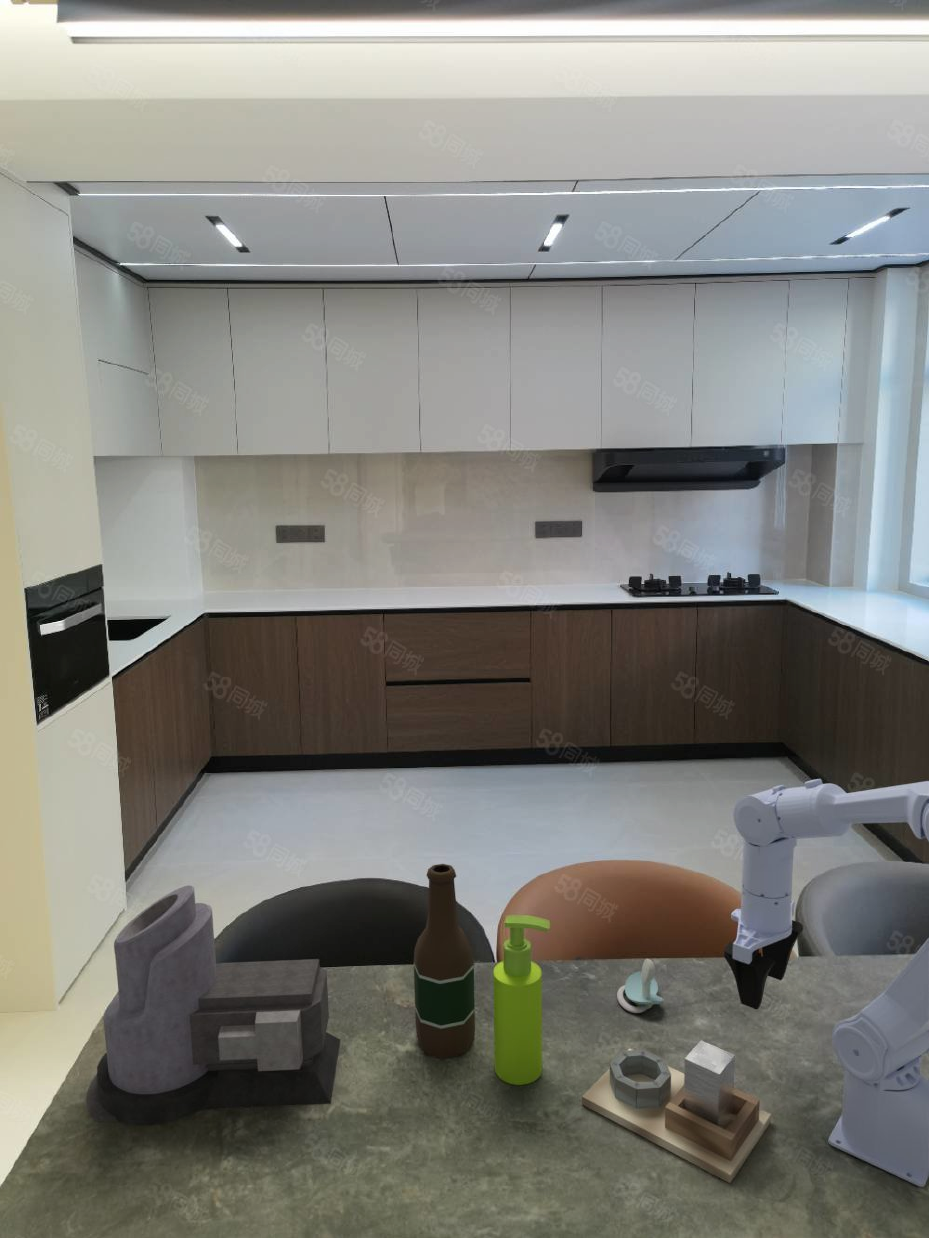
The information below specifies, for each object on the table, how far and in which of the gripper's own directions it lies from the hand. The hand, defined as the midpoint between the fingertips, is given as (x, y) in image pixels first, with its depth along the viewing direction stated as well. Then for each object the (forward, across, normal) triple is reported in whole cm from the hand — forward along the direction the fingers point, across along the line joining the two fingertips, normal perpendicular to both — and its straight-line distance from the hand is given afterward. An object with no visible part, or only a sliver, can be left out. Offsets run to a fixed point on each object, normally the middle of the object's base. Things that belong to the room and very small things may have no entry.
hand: (762, 990), depth 105 cm
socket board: (+9, +15, -4) cm, 18 cm away
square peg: (+8, +15, 0) cm, 17 cm away
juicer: (+10, +45, -51) cm, 69 cm away
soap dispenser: (+10, +20, -22) cm, 31 cm away
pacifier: (+10, -2, -18) cm, 20 cm away
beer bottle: (+10, +22, -33) cm, 41 cm away
